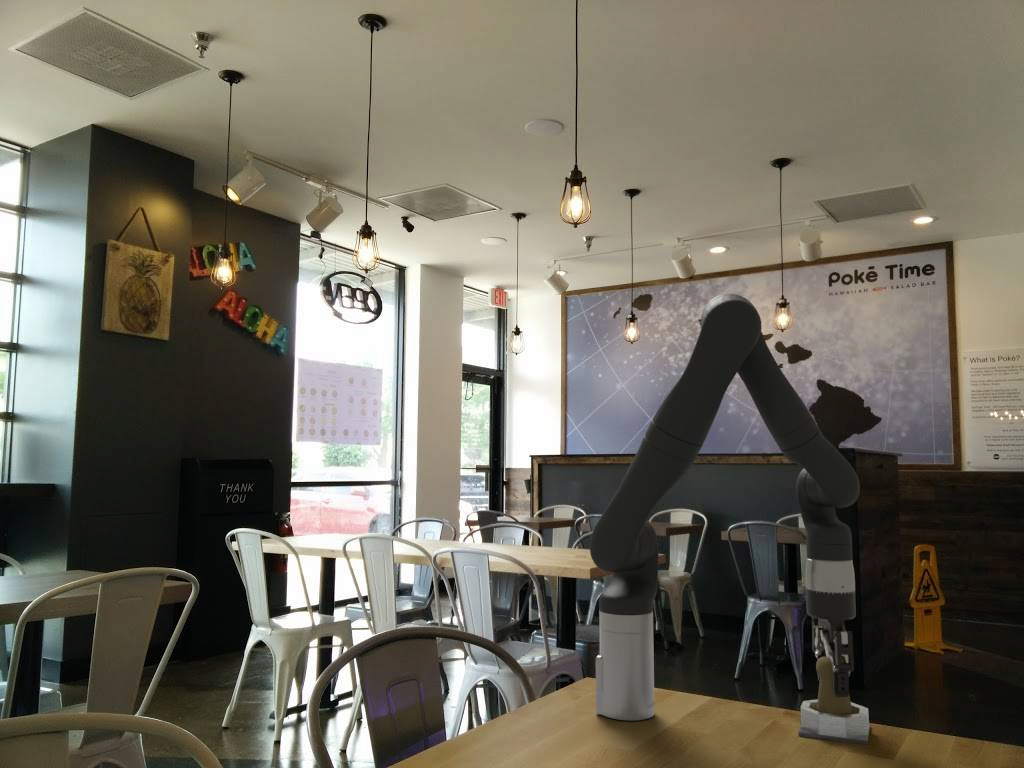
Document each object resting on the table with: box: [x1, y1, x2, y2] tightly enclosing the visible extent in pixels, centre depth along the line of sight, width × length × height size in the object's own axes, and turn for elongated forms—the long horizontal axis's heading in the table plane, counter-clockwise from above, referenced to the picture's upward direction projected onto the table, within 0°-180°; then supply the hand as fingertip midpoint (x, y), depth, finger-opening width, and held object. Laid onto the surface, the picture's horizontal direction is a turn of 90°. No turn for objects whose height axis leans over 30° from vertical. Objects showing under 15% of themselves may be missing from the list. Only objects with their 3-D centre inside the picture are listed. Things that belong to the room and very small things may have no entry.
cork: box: [815, 656, 852, 715], centre depth 136 cm, size 6×6×11 cm
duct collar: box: [798, 698, 871, 746], centre depth 136 cm, size 10×10×4 cm
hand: (833, 689), depth 137 cm, fingers open, 8 cm apart
